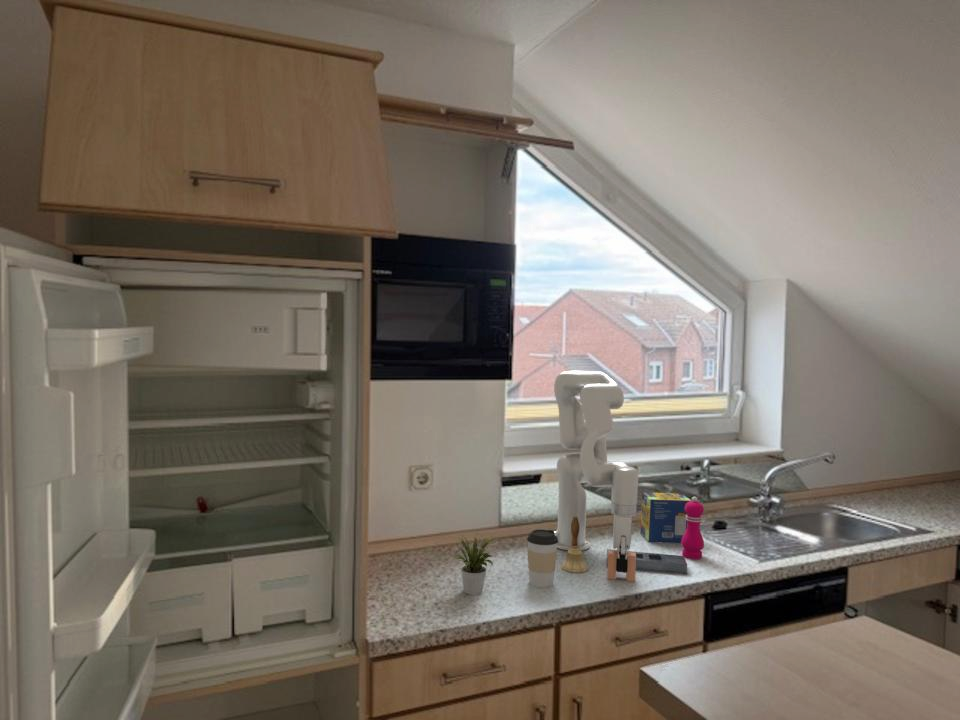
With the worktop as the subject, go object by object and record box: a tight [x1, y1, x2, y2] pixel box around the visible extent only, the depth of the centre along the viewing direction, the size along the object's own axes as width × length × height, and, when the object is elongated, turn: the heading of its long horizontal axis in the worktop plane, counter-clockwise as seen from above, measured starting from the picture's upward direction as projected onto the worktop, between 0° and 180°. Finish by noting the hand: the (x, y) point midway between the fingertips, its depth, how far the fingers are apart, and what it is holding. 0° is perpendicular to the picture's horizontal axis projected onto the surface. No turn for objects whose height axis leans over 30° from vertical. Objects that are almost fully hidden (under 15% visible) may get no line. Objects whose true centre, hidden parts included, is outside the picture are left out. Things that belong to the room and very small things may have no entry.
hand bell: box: [560, 517, 589, 574], centre depth 201 cm, size 8×8×16 cm
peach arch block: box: [606, 549, 637, 582], centre depth 194 cm, size 8×3×8 cm, turn 80°
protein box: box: [639, 492, 692, 544], centre depth 235 cm, size 10×15×16 cm
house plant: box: [446, 531, 494, 596], centre depth 180 cm, size 14×14×16 cm
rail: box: [606, 548, 688, 575], centre depth 206 cm, size 24×8×3 cm, turn 80°
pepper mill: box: [680, 496, 705, 560], centre depth 216 cm, size 7×7×20 cm
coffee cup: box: [526, 529, 558, 588], centre depth 188 cm, size 9×9×15 cm
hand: (621, 569), depth 194 cm, fingers closed on peach arch block, 3 cm apart
